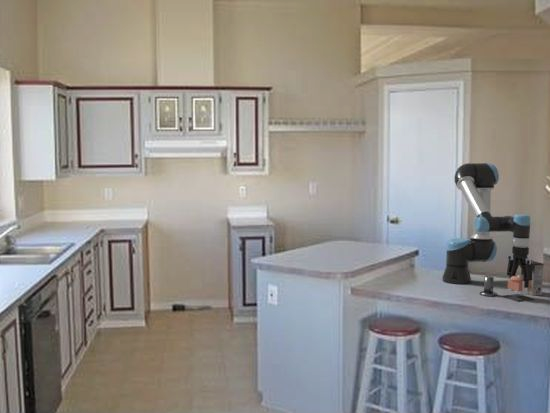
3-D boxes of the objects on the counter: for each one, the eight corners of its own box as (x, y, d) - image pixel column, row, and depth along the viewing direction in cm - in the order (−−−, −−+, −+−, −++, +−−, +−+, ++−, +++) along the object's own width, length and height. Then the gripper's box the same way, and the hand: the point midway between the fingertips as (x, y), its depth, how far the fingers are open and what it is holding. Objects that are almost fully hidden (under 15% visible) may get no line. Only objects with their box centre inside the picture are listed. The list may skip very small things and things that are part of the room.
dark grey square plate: (502, 296, 319) (503, 295, 319) (518, 295, 323) (518, 293, 323) (517, 301, 310) (517, 300, 310) (533, 299, 313) (533, 298, 313)
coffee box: (519, 291, 330) (521, 260, 328) (529, 290, 332) (531, 259, 331) (532, 295, 322) (533, 264, 320) (542, 294, 324) (544, 263, 322)
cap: (507, 288, 317) (508, 274, 317) (518, 287, 320) (519, 273, 320) (518, 291, 311) (519, 277, 310) (529, 290, 314) (530, 276, 313)
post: (476, 293, 325) (477, 276, 324) (489, 292, 328) (489, 274, 327) (487, 297, 318) (488, 279, 317) (500, 295, 321) (500, 278, 320)
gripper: (500, 243, 321) (498, 288, 323) (530, 249, 303) (528, 297, 305) (511, 242, 324) (509, 287, 326) (542, 248, 306) (540, 296, 308)
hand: (518, 292), depth 316 cm, fingers closed on cap, 7 cm apart
